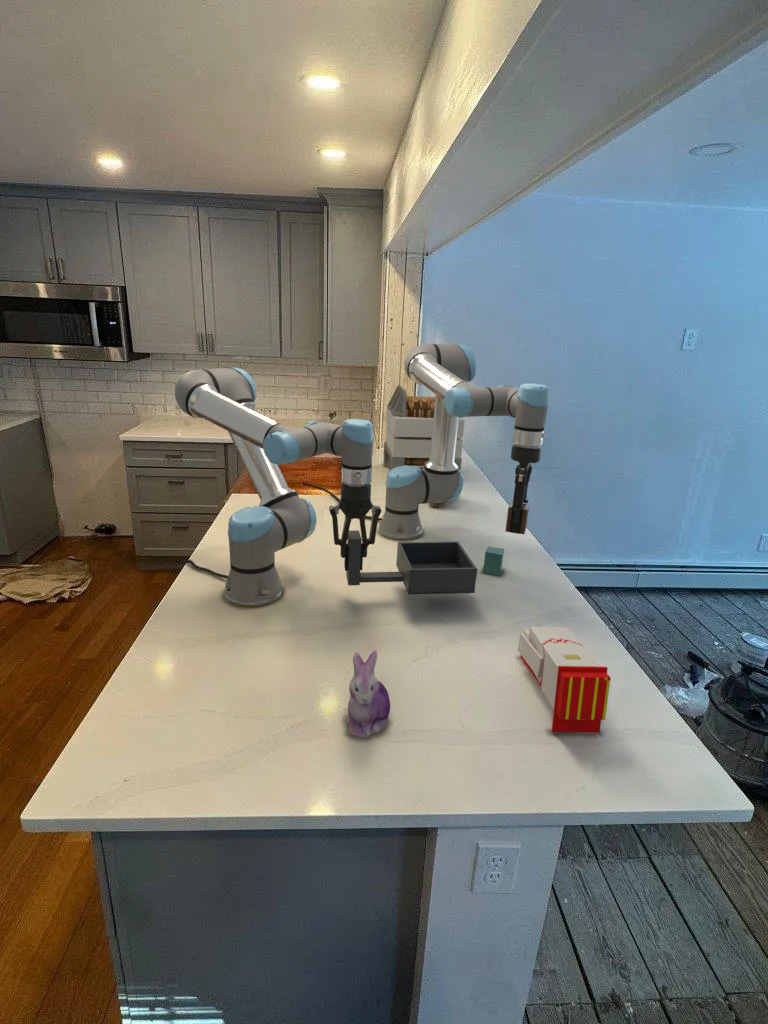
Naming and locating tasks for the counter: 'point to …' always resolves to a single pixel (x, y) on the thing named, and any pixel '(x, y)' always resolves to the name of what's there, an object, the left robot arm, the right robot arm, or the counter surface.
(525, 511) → the walnut block
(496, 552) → the teal block
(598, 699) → the toy
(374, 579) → the box
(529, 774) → the counter surface
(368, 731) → the figurine
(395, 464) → the grey slatted crate
